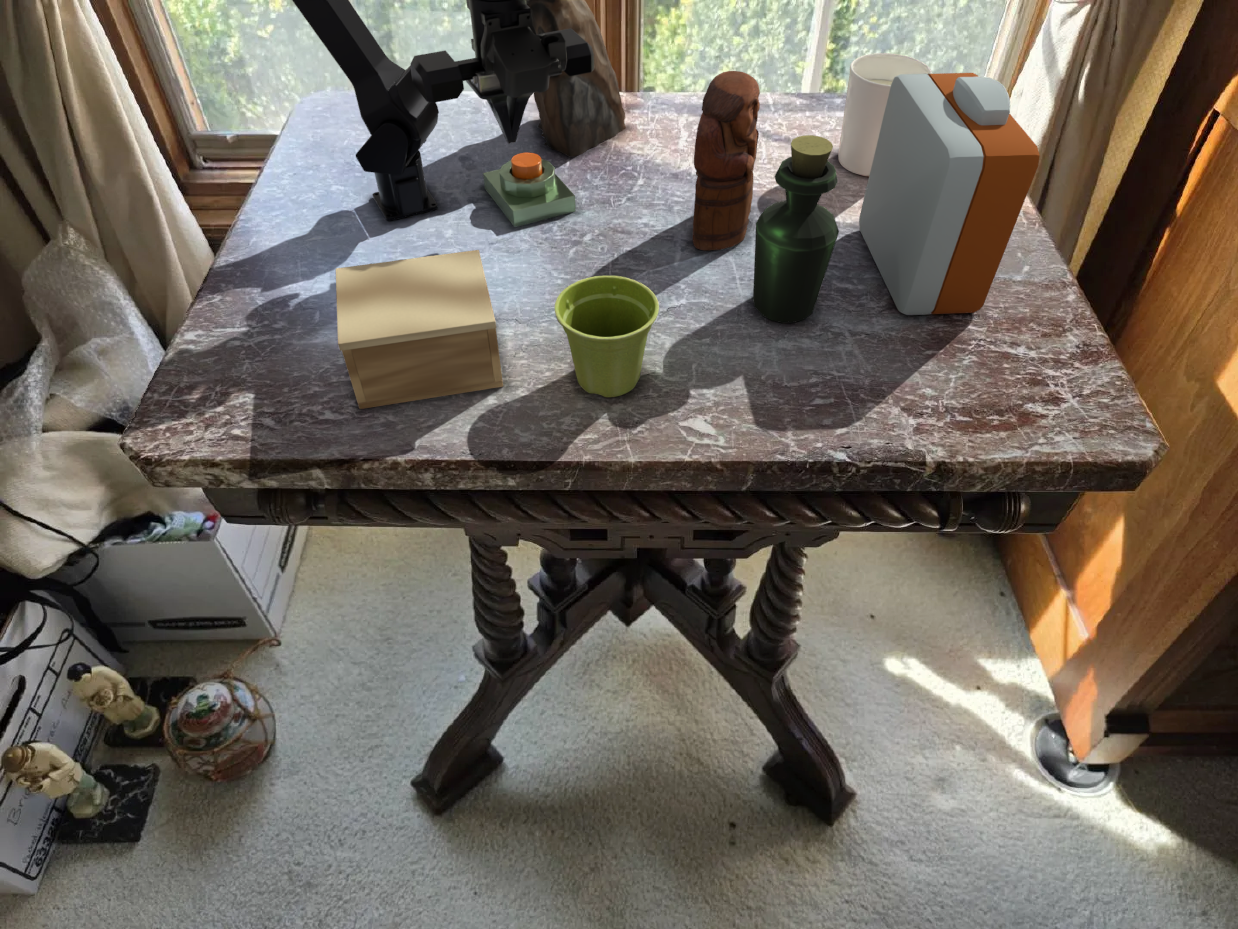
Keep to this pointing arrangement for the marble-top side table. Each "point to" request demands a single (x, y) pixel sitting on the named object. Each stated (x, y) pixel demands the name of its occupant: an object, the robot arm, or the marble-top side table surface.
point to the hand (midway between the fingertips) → (510, 141)
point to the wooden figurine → (725, 161)
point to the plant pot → (607, 331)
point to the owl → (577, 84)
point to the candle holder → (869, 105)
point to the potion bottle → (796, 234)
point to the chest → (424, 368)
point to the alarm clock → (945, 190)
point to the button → (526, 165)
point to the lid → (412, 300)
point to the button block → (529, 194)
